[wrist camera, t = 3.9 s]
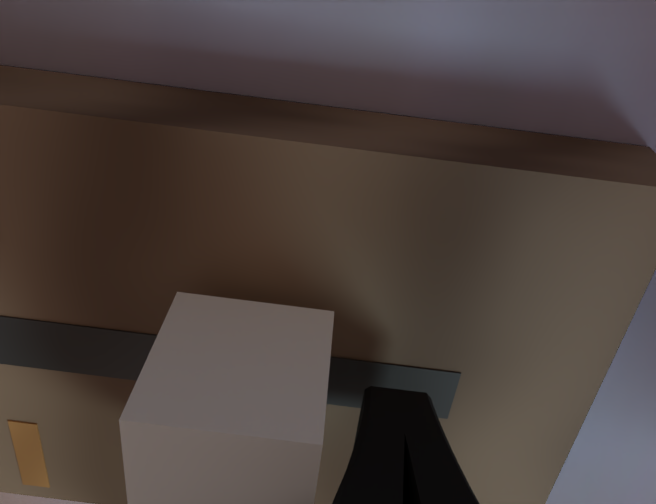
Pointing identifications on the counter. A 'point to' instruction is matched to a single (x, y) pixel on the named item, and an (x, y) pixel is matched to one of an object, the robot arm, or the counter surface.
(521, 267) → the brown flat slab
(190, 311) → the fader
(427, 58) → the counter surface
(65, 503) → the counter surface
